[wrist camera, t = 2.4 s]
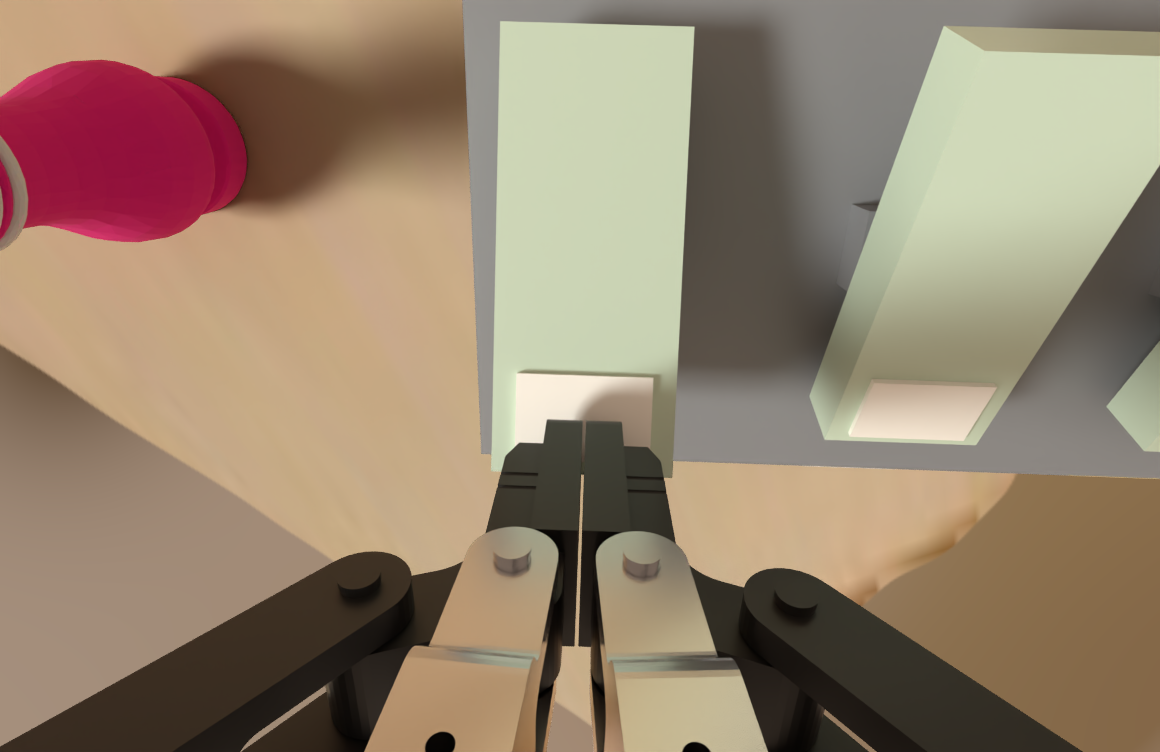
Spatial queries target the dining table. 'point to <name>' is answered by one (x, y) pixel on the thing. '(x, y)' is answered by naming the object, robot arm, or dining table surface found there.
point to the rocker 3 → (1141, 403)
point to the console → (830, 228)
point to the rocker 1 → (590, 230)
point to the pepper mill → (114, 153)
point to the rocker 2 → (988, 226)
